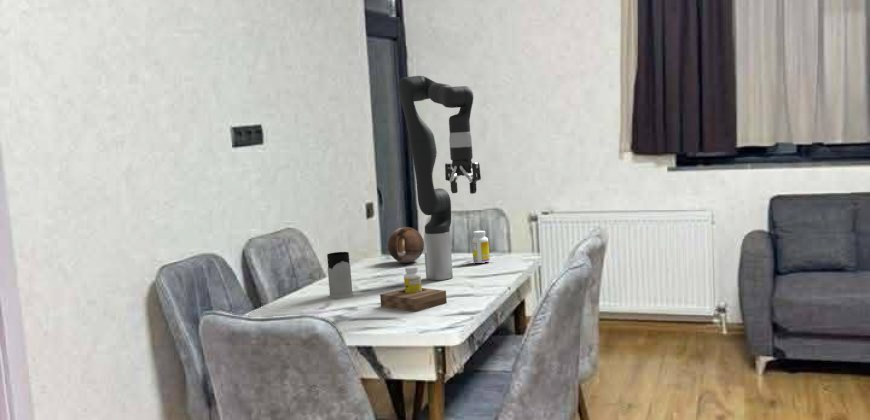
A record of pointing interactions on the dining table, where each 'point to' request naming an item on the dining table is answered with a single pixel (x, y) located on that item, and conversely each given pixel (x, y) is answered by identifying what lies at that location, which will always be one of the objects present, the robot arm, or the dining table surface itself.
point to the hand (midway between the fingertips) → (463, 193)
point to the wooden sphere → (405, 245)
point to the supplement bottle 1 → (412, 280)
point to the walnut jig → (413, 299)
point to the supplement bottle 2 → (480, 247)
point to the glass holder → (339, 275)
